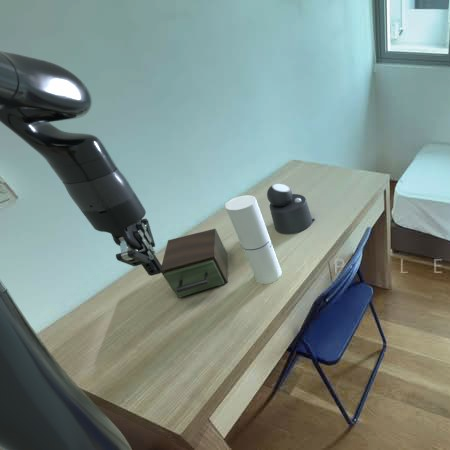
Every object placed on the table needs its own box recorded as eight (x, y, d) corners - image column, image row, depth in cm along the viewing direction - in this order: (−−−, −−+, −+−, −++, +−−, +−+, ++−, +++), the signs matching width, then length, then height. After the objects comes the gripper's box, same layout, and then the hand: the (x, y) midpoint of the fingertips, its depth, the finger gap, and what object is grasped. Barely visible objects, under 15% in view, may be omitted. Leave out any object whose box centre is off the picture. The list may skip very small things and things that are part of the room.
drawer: (224, 294, 84) (212, 271, 79) (176, 309, 80) (160, 286, 75) (224, 256, 97) (214, 235, 93) (183, 267, 94) (170, 246, 89)
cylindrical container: (250, 281, 89) (218, 207, 74) (266, 265, 94) (238, 193, 80) (271, 286, 87) (242, 211, 73) (286, 269, 92) (261, 196, 78)
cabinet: (227, 282, 89) (214, 256, 83) (177, 297, 85) (159, 270, 79) (227, 253, 100) (215, 228, 94) (183, 265, 96) (167, 240, 90)
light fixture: (305, 190, 100) (259, 196, 97) (315, 230, 109) (273, 237, 106) (305, 173, 110) (264, 178, 108) (314, 210, 119) (276, 216, 117)
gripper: (92, 187, 56) (141, 258, 66) (63, 223, 46) (126, 301, 56) (140, 177, 58) (181, 248, 68) (123, 210, 49) (173, 287, 58)
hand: (156, 272), depth 62 cm, fingers closed
